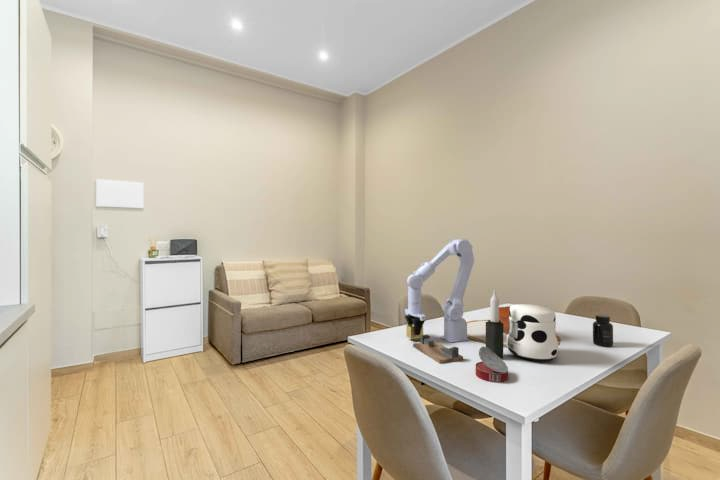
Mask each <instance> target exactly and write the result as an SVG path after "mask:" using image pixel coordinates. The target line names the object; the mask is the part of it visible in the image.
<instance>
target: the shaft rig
mask: <svg viewBox="0 0 720 480" xmlns="http://www.w3.org/2000/svg"><path fill="white" fill-rule="evenodd" d="M412 346H413V347H412V348H415V349H416V350H418V351H419V352H421V353H422V354H424V355H425V356H427V357H428V358H430V359H432V360H433V361H435V362H436V363H438V364H446V363H451V362H459V361H463V360H464V356H463V355H461V354H459V351H460V350H459V347H457V346H451V347H446V346H444V345H442V344H441V343H439V342H437V341H435V340H434V339H431V337H430V334H427V333H426V334H423V335H421V338H420V342H416V343H413V344H412Z"/></svg>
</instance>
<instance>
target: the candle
mask: <svg viewBox="0 0 720 480" xmlns="http://www.w3.org/2000/svg"><path fill="white" fill-rule="evenodd" d="M496 292H497V291H496V290H493V292H492V293H493V294H492V296H491V298H489V299H490V300H489V302H490V306H489V307H490V309H489V311H490V312H489V313H490V314H489V316H490V318H489V319H488V320H487V321H485V347H488V348H489V349H490V350H492V352H494V353H495V354H496V355H497V356H498V357H499V358H501V359H504V332H503V330H504V324H503V323H501V321H499V307H500V299H499V298H498V295H497V293H496Z"/></svg>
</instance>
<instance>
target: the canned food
mask: <svg viewBox="0 0 720 480" xmlns="http://www.w3.org/2000/svg"><path fill="white" fill-rule="evenodd" d="M478 356H479V359H480V360H481V361H480V362H476V364H475V376H476V377H477V378H478V379H479V380H482V381H485V382H489V383H493V384H494V383H495V384H497V383H499V384H500V383H505V382H507V381H508V380H509V366H507V364H506V362H504V361H503V358H499V357H498V356H497V355H496V354H495V353H494V352H492V350H490V349H489V348H488V347H486V346H481V347H480V348H479V350H478Z"/></svg>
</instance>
